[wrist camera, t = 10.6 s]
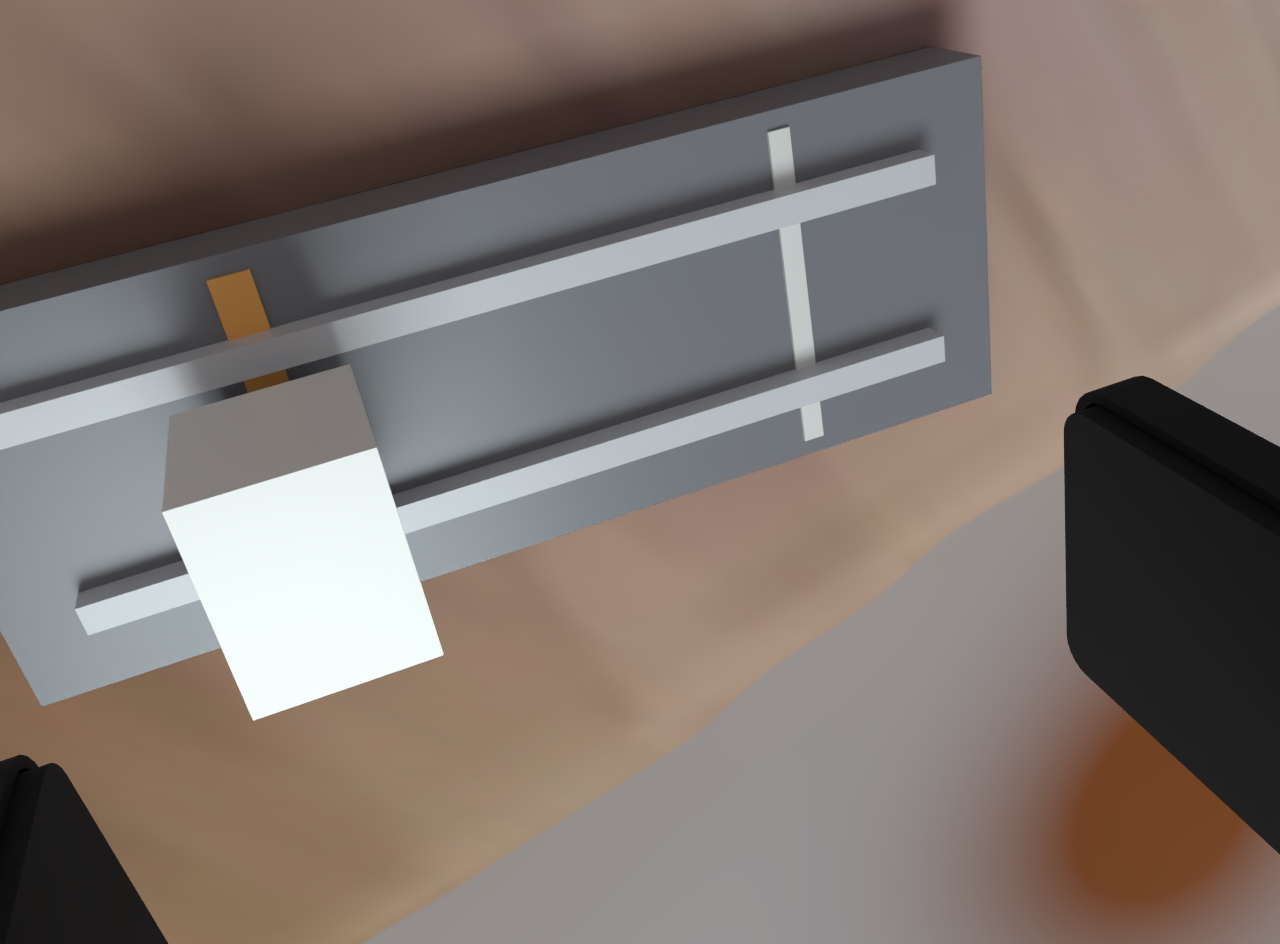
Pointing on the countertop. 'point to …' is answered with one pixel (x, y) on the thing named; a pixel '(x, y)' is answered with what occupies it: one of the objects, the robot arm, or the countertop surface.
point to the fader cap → (295, 541)
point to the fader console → (508, 341)
